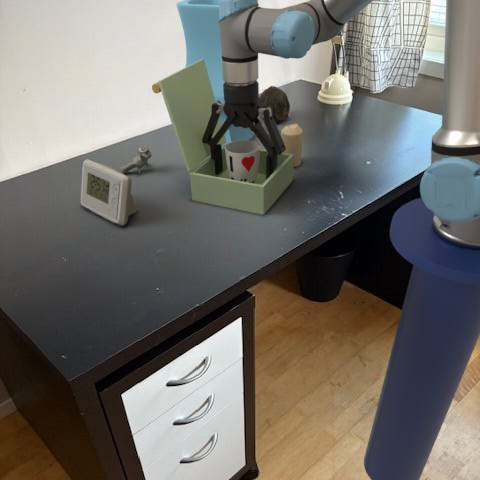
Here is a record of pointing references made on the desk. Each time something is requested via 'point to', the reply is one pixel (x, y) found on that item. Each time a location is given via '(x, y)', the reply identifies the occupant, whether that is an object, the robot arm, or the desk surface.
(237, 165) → the cup
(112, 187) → the digital clock
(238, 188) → the chest
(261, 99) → the rock
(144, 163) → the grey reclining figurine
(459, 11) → the robot arm
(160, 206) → the desk surface
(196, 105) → the lid
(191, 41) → the planter
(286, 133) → the candle
